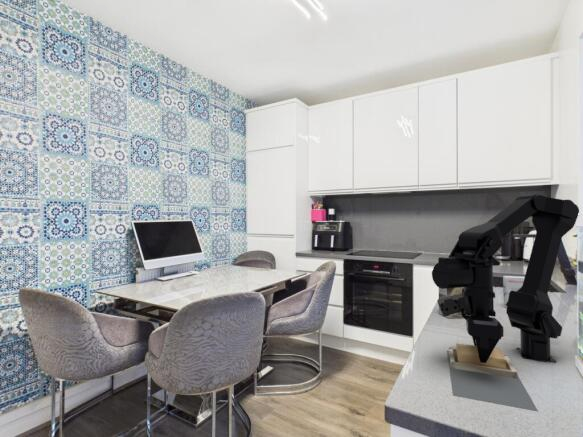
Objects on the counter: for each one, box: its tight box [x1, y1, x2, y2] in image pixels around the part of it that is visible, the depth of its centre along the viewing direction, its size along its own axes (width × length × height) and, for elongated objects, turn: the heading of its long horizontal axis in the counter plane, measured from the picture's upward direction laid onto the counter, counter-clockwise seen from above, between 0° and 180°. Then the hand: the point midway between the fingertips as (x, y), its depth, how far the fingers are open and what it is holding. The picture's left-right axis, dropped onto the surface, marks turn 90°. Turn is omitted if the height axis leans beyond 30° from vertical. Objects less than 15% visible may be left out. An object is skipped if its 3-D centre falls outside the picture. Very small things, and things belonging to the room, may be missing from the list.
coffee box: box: [438, 287, 464, 319], centre depth 109 cm, size 9×6×16 cm
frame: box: [448, 347, 518, 378], centre depth 71 cm, size 9×12×1 cm
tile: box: [455, 343, 506, 369], centre depth 71 cm, size 9×6×3 cm, turn 66°
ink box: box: [502, 275, 525, 310], centre depth 117 cm, size 9×5×12 cm, turn 67°
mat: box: [446, 350, 539, 412], centre depth 66 cm, size 22×13×1 cm, turn 156°
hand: (479, 354), depth 71 cm, fingers open, 9 cm apart
